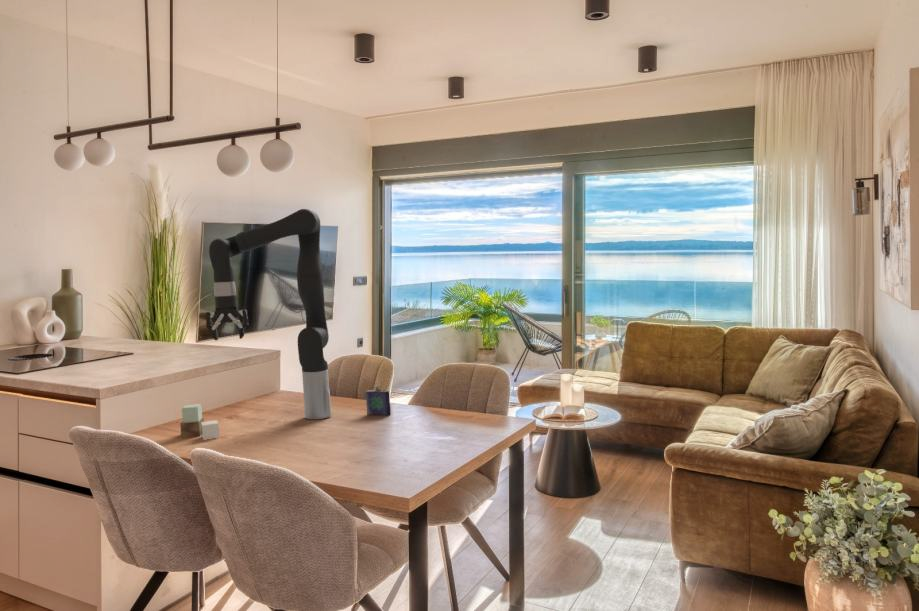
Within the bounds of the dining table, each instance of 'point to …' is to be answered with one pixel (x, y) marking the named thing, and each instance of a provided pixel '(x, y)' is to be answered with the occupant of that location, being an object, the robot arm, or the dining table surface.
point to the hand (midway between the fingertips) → (228, 339)
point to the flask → (378, 402)
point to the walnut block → (191, 429)
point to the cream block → (210, 430)
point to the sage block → (192, 413)
